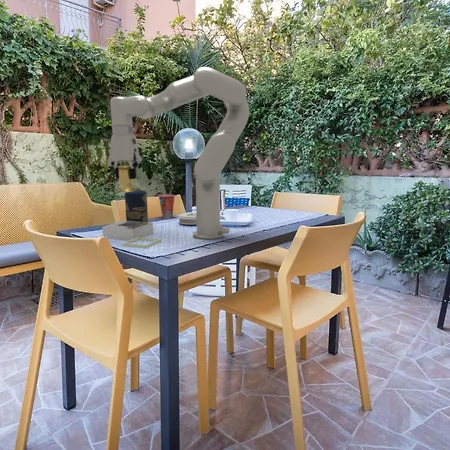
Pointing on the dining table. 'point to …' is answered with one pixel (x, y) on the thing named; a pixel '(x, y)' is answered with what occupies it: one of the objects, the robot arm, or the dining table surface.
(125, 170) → the gold metal cylinder
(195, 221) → the lid
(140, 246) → the green square frame
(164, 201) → the cup
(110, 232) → the housing
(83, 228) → the dining table surface
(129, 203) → the canister
